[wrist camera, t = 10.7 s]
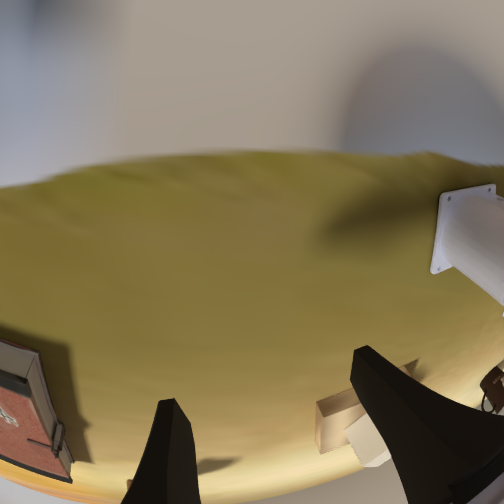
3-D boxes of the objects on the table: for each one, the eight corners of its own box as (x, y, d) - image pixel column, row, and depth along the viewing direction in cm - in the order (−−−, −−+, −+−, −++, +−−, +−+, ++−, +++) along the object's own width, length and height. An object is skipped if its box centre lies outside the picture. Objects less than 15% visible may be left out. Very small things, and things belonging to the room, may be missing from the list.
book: (78, 460, 30) (76, 487, 25) (-14, 428, 24) (-21, 451, 20) (47, 349, 20) (31, 392, 16) (-75, 301, 15) (-96, 328, 10)
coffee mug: (504, 360, 48) (525, 384, 39) (485, 385, 51) (504, 409, 42) (487, 367, 44) (511, 395, 36) (465, 394, 48) (487, 423, 39)
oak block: (401, 362, 32) (413, 378, 29) (385, 409, 37) (394, 423, 35) (314, 397, 30) (323, 417, 28) (313, 438, 36) (320, 454, 33)
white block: (370, 409, 30) (392, 445, 24) (384, 414, 32) (405, 446, 26) (343, 430, 30) (362, 466, 25) (359, 434, 32) (377, 466, 27)
